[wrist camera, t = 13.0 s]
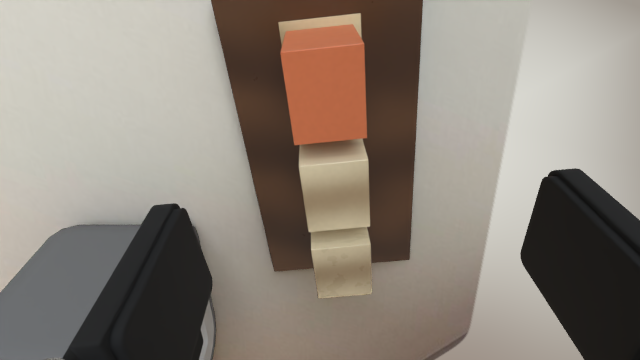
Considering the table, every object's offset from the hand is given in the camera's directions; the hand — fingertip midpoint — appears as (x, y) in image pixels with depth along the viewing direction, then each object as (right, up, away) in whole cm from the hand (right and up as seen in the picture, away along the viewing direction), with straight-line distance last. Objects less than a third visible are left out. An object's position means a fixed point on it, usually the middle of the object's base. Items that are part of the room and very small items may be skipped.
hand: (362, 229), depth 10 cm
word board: (0, +3, +17) cm, 18 cm away
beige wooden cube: (0, -3, +20) cm, 20 cm away
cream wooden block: (0, +3, +16) cm, 17 cm away
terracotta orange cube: (-1, +8, +13) cm, 15 cm away
